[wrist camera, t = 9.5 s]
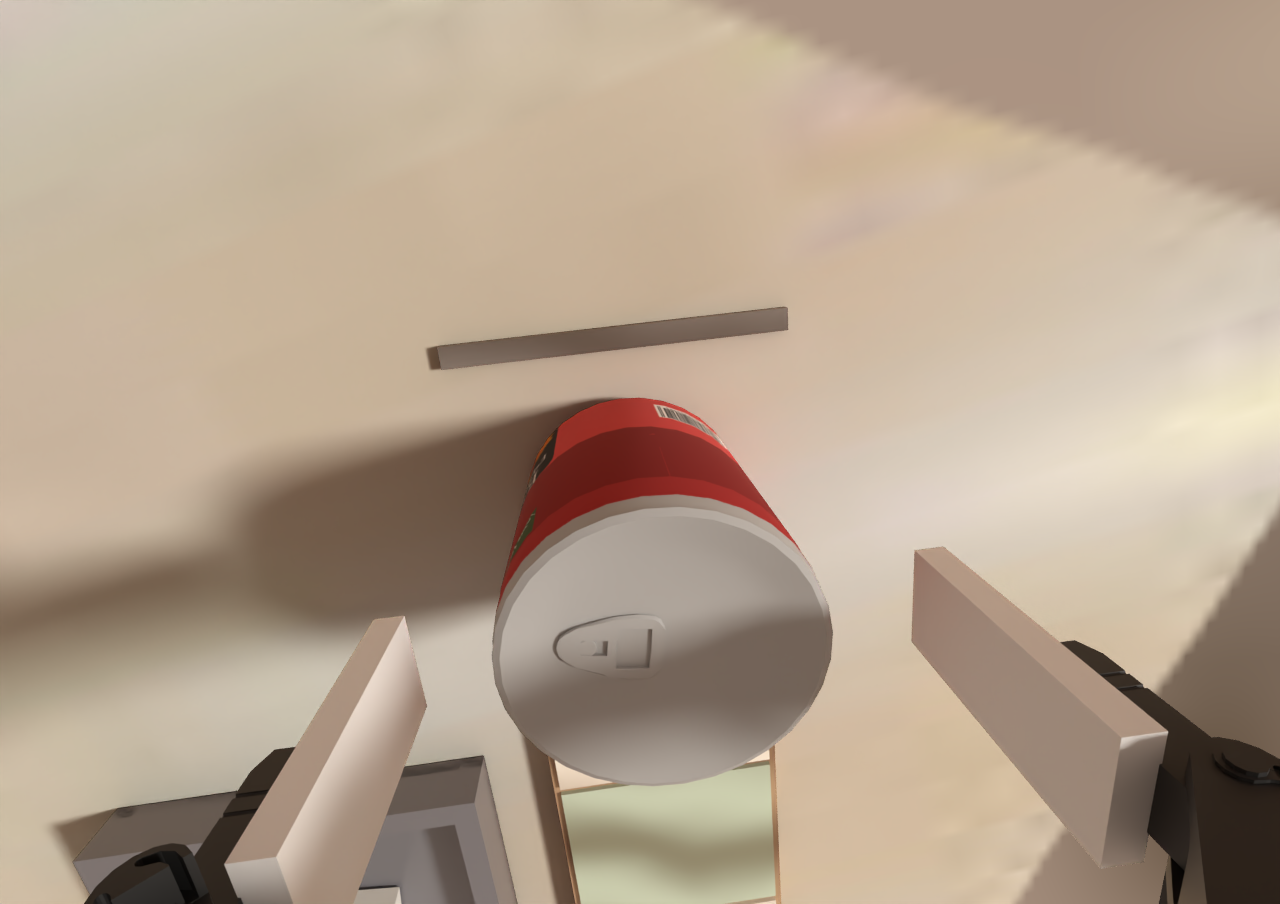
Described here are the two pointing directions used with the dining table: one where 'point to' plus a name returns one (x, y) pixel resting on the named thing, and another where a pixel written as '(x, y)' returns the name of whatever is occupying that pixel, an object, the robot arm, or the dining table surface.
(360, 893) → the cream cube
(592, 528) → the canned food
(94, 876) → the dice tray
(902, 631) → the dining table surface
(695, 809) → the board
